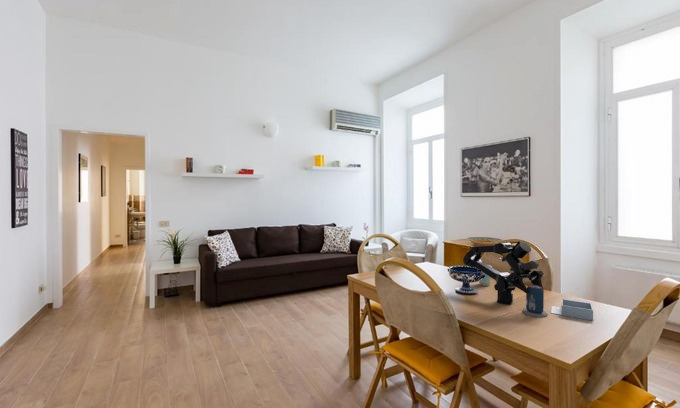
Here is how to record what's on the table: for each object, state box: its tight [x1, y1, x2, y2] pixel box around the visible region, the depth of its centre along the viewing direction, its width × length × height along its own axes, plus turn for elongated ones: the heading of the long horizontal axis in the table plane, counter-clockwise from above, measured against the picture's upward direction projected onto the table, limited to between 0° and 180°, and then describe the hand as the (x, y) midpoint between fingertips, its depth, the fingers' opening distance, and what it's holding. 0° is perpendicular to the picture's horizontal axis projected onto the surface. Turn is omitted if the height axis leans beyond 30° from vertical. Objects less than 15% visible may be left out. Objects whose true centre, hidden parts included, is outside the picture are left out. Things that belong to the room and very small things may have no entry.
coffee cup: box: [478, 264, 493, 287], centre depth 201 cm, size 8×8×12 cm
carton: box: [551, 298, 594, 321], centre depth 154 cm, size 15×15×4 cm
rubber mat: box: [522, 308, 548, 318], centre depth 152 cm, size 10×10×1 cm
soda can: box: [525, 284, 545, 314], centre depth 152 cm, size 7×7×12 cm
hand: (535, 292), depth 152 cm, fingers open, 9 cm apart
